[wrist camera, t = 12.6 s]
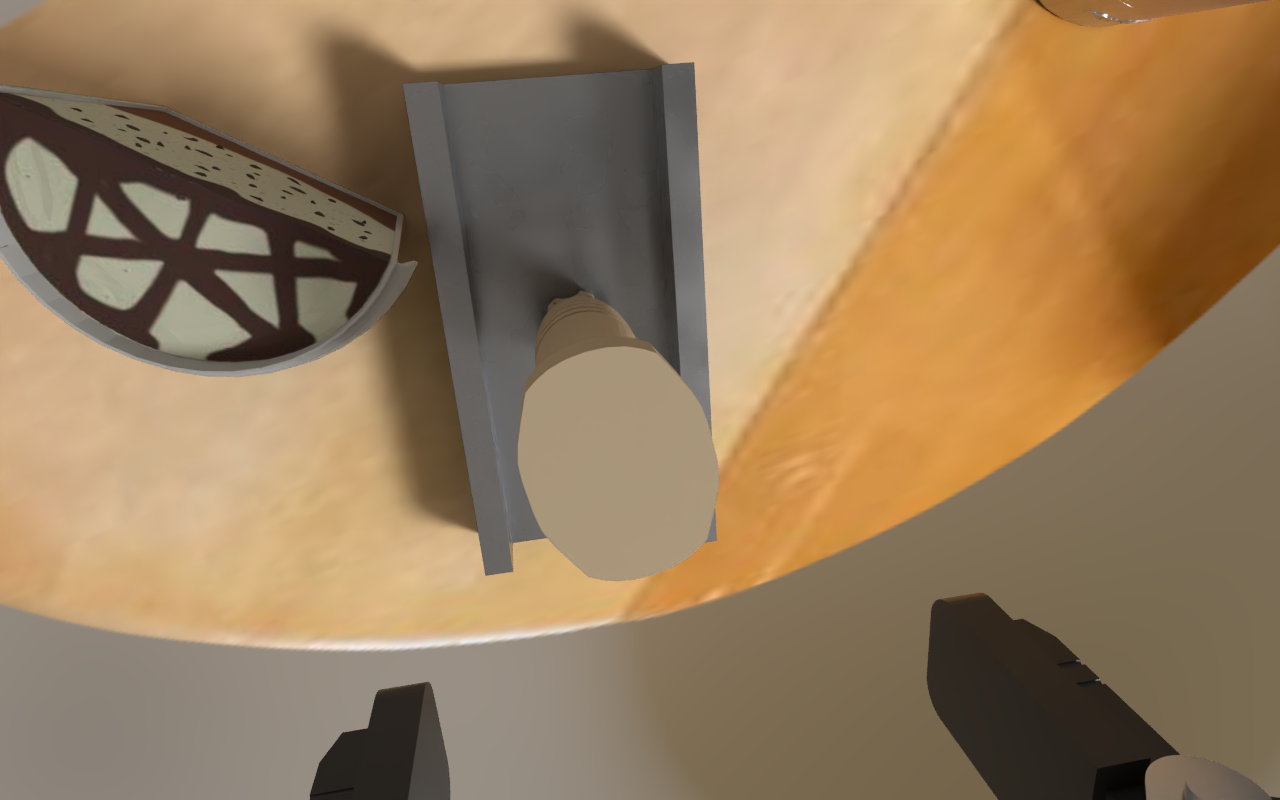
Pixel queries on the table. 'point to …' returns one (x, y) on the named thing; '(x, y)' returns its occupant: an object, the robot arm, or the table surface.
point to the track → (555, 243)
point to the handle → (613, 446)
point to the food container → (186, 237)
